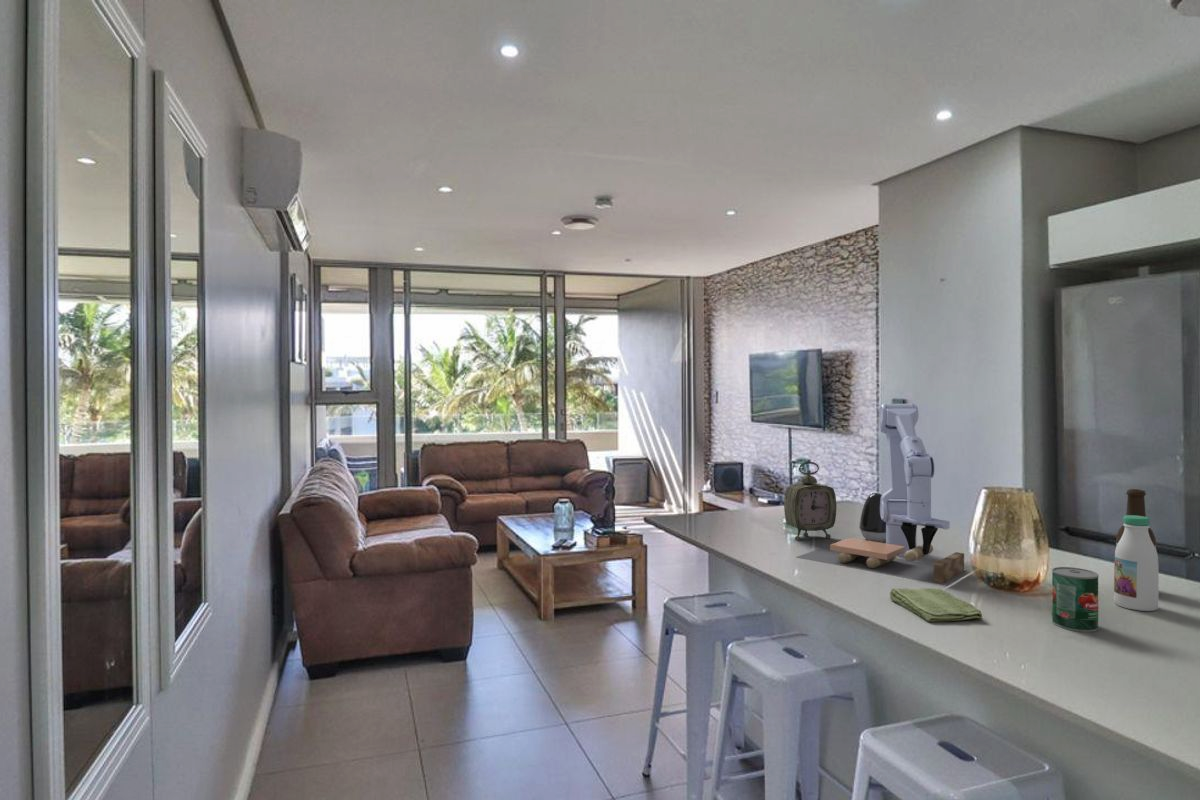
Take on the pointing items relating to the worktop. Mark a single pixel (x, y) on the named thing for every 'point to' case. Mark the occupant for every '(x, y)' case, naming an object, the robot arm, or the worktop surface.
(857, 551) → the slab
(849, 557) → the roller rear
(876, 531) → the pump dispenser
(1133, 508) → the beer bottle
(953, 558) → the bar
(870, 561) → the roller front
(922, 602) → the washcloth
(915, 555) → the roller
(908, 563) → the mat
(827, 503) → the tabletop clock
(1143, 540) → the milk bottle
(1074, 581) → the canned tomato
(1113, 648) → the worktop surface
